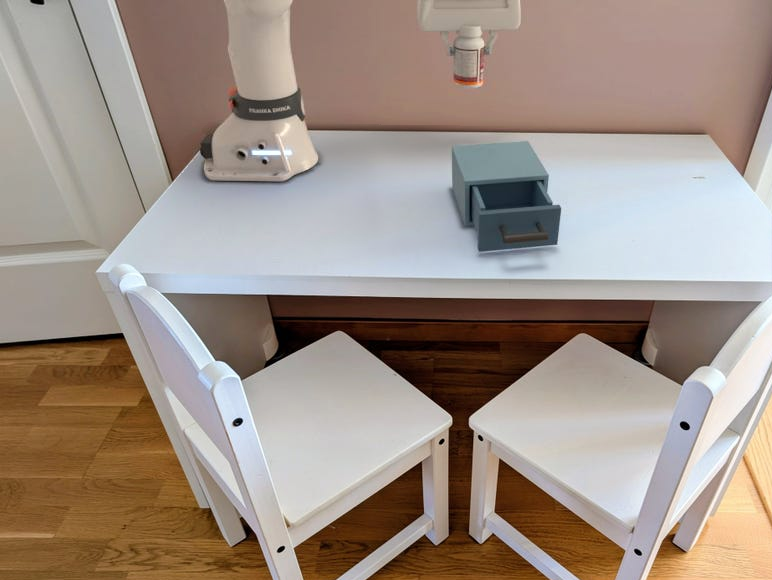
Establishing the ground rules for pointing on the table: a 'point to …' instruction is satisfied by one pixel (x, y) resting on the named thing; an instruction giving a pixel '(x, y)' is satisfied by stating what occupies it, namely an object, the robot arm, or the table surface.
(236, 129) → the robot arm
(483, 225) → the drawer
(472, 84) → the pill bottle
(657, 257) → the table surface
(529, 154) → the cabinet
